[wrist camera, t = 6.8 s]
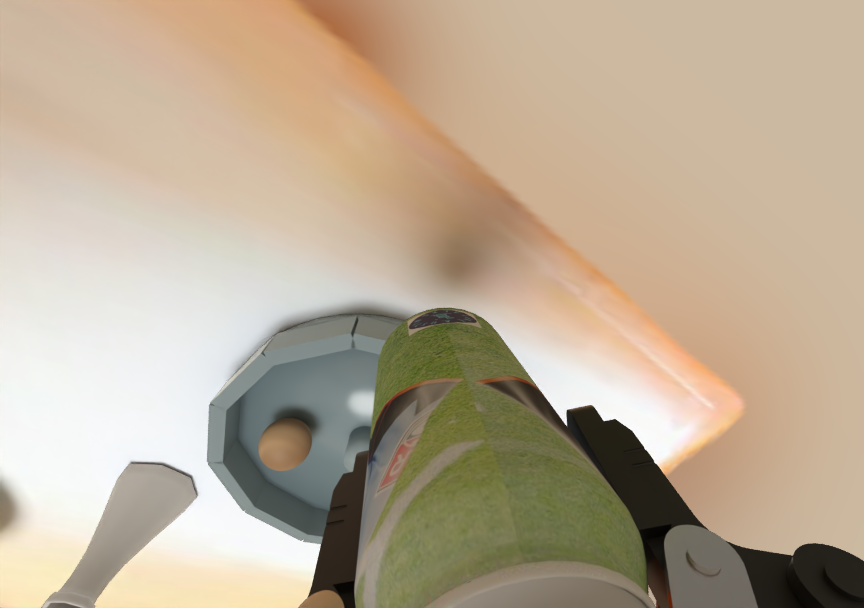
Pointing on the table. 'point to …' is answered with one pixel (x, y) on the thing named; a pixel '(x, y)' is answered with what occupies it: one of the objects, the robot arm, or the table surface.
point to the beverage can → (483, 485)
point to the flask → (125, 529)
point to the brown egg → (285, 444)
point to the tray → (299, 417)
